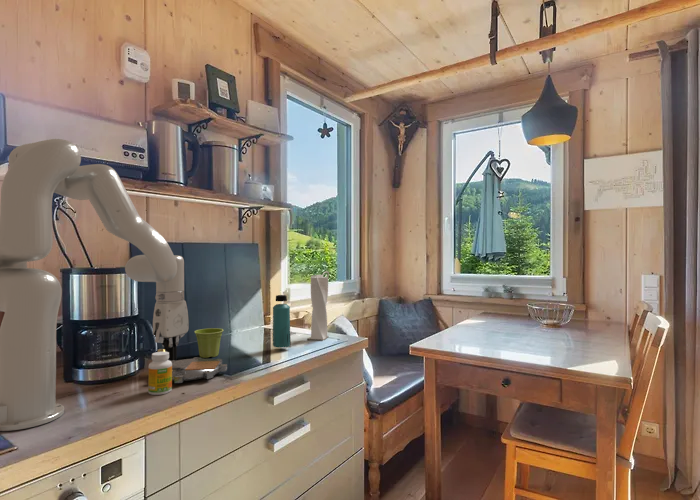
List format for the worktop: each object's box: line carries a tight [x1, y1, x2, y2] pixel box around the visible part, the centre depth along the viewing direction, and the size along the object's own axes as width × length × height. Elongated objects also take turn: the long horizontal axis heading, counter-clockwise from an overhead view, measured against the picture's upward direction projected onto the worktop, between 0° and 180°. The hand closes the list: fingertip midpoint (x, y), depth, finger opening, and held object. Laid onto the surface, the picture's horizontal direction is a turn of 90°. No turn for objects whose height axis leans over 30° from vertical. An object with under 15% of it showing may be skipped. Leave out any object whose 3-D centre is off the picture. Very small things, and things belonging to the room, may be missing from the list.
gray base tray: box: [157, 348, 228, 384], centre depth 117 cm, size 21×21×6 cm
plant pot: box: [194, 327, 224, 359], centre depth 140 cm, size 9×9×9 cm
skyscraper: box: [307, 270, 330, 341], centre depth 169 cm, size 8×8×28 cm
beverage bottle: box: [271, 294, 291, 349], centre depth 149 cm, size 6×7×20 cm
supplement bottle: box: [147, 351, 173, 396], centre depth 103 cm, size 5×5×10 cm
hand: (170, 359), depth 119 cm, fingers closed
